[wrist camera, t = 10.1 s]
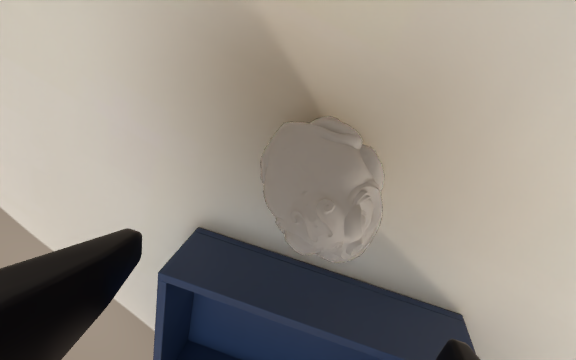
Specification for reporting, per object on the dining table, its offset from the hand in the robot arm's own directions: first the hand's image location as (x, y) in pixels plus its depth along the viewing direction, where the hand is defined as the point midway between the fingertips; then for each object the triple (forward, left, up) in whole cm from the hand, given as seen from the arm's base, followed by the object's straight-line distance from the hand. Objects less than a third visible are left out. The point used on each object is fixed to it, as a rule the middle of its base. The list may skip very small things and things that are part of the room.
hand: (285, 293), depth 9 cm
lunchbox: (-14, -2, -11) cm, 18 cm away
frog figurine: (0, 0, -12) cm, 12 cm away
